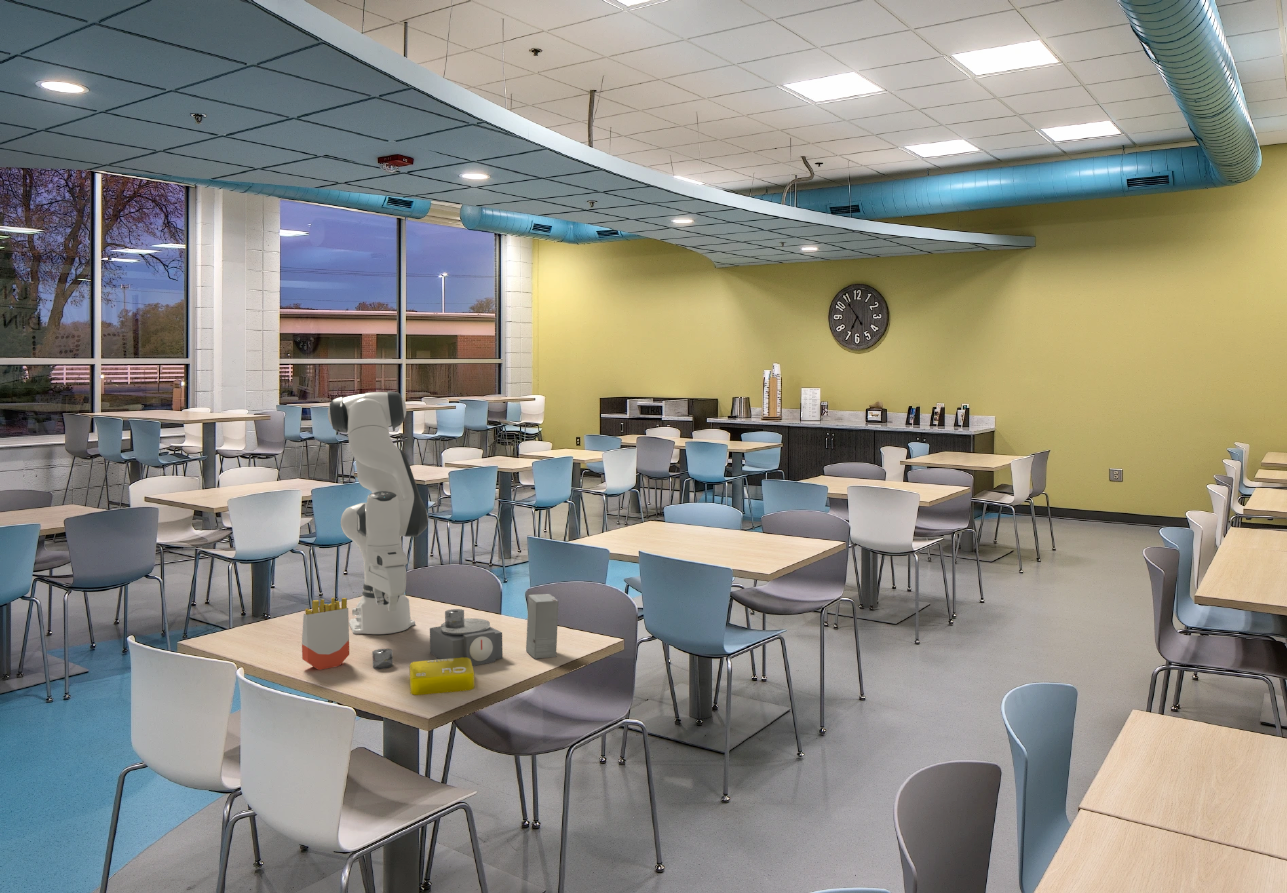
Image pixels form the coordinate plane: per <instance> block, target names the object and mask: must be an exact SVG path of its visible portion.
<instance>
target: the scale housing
mask: <svg viewBox="0 0 1287 893" xmlns="http://www.w3.org/2000/svg"><path fill="white" fill-rule="evenodd" d="M429 652H430V653H429V654H431V655H433V656H434V657H435V658H437V659H438V660H440V659H452V658H464V657H467V658H469V659H470V660H471V663H472V666H473V667H475V666H480V665H485V664H490V663H491V664H492V663H495V662H496V660H499V659H503V654H504V653H503V632H502V631H501V630H498V629H496V628H494V627H491V626H490V629H489V630H487V631H484V632H478V633H472V634H467V635H450V634H445V633H443V632H442V631H441V625H440V626H434V627H430V628H429Z"/></svg>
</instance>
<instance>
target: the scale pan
mask: <svg viewBox="0 0 1287 893" xmlns="http://www.w3.org/2000/svg"><path fill="white" fill-rule="evenodd" d="M440 626H441V631H442V632H443V633H445V634H450V635H467V634H472V633H478V632H484V631H487V630H489V629H490V627H491V622H490V621H489V620H487V619H483V618H470V617H469V618H464V626H463V627H461V628H446V627H445V622H443V623H442V624H441V625H440Z"/></svg>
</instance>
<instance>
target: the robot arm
mask: <svg viewBox="0 0 1287 893" xmlns="http://www.w3.org/2000/svg"><path fill="white" fill-rule="evenodd" d="M406 415H407V405H406V401H405V399H404V398H403V397H402V394H400V393H399V392H397V391H390V390H388V391H387V392H385V391H382V392H381V391H379V392H378V391H375V392H365V393H360V394H352V395H348V396H345V397H344V396H340V397H337V398H334V399H332V400H331V401H330V403H329V406H328V408H327V419H328V421H329V424H330V425H331V427H332V429H333V430H335V431H336V432H337V433H344V434H348V436H347V437H348V438H347V439H348V443H349V444H348V446H349V449H350V453H351V455H352V457H353V458H354V459H355V466H356V467H355V468H356V474H357V481H358V483H359V484H360V486H361V487H363V488H364V489H367V490H369V491H370V492H371V493H369V494H368V495H367V498H366V502H360V503H356V504H354V505H351V506H349V507H346V508H345V509H344V511H343V512H342V514H341V517H340V527H341V529H342V532H343V534H344V535H345V536H346V537H347V538H348V539H349V540H351V541H352V542H354V543H355V545H356V546H357V548H358V549H359V551H360V554H361V558H362V561H363V573H364V576H363V577H364V583H363V584H362V597H361V598H360V600H359V601H358V602H357V604H356V607H353V608H352V609H351V611H352V616H353V617H354V618H350V619H349V627H350V629H351V632H352V633H353V634H355V635H359V634H360V635H361V634H364V635H387V634H388V635H389V634H395V633H399V632H403V631H406V630H407V629H409V628H410V627H412V626H415V625H416V621H415V620H414V619H411V607H410V600H409V598H408V597H407V596H406V595H405V593H406V588H407V569H406V565H408V561H409V560H408V555H407V554H406V553H405V551H404V550H403V548H402V545H403V544H402V543H403V542H402V538H401V537H406V538H407V537H409V538H411V537H413V538H416V537H419V536H420V535H422V533H423V532H424V531H425V530H426V529H427V528H428V525H429V514H428V510H427V508H426V506H425V503H424V501H423V499H422V497H421V494H420V491H419V488H418V485H417V483H416V479H415V477H414V474H413V471H412V469H411V466H410V462H409V461H408V457H407V455H406V453H405V452H404V450H403V449H401V448H399V447H398V446H396V444H394V442H393V440H392V439H391V435H390V431H389V430H390V428H391V427H392V432H394V431H396V428H398V427H400V426H401V425H402V424H403V422H404V421H405V418H406ZM355 616H356V617H355Z"/></svg>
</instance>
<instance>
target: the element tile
mask: <svg viewBox="0 0 1287 893" xmlns="http://www.w3.org/2000/svg"><path fill="white" fill-rule="evenodd" d="M474 689H475V671H474V666H472V663H471V660H470V659H469V658H467V657H464V658H452V659H433V660H432V659H430V660H418V661H412V662H411V663H409V693H410V695H413V696H423V695H436V694H443V693H445V694H448V693H456V692H466V691H471V690H474Z"/></svg>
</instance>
